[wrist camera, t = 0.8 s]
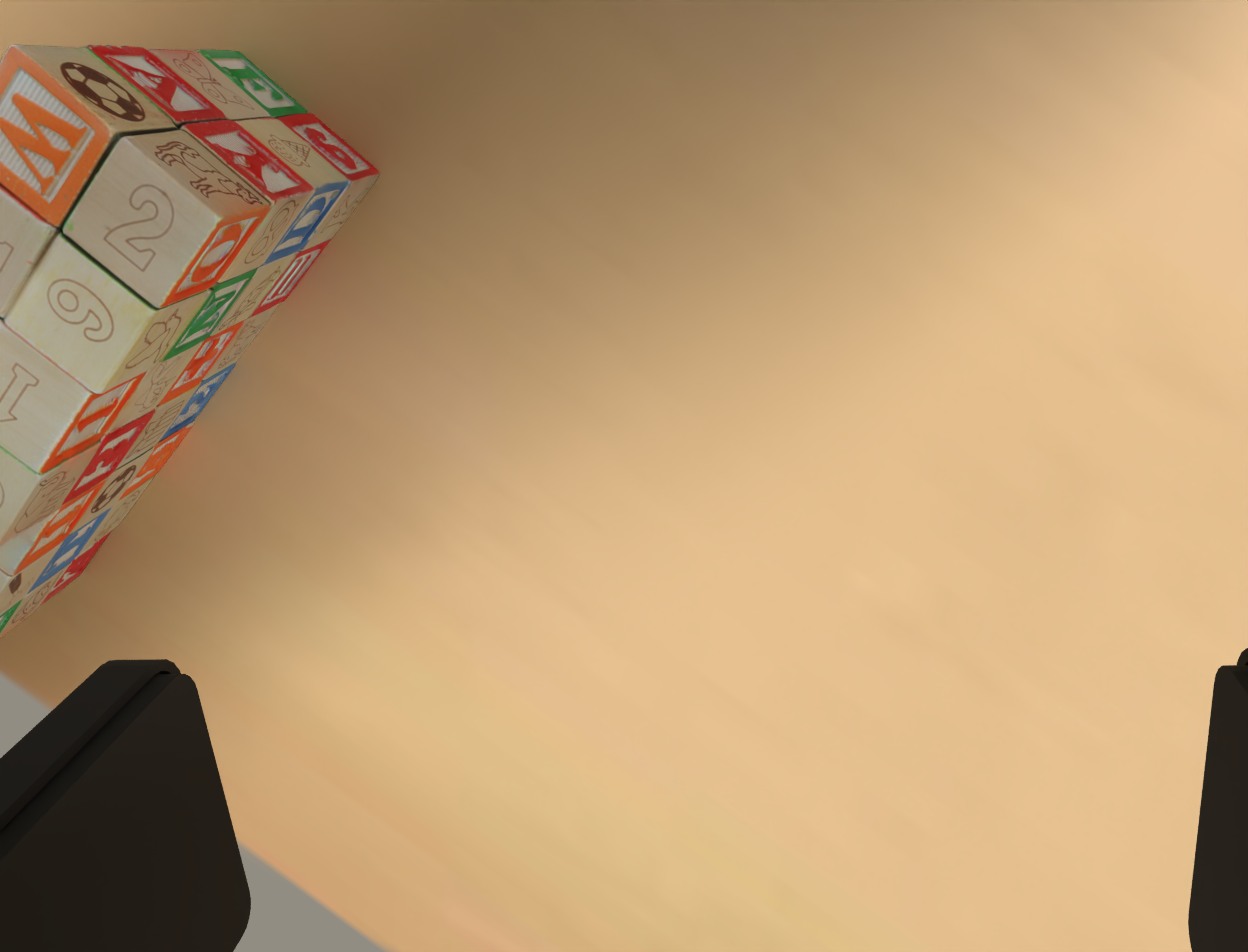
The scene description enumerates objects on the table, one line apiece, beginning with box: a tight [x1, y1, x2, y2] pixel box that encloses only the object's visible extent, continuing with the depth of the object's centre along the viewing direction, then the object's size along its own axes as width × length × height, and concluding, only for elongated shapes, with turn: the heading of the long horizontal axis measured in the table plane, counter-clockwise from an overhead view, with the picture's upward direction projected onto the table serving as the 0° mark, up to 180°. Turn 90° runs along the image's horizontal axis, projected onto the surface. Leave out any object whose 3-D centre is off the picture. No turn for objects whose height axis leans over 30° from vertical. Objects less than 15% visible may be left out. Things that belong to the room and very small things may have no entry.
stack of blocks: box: [0, 45, 380, 638], centre depth 36 cm, size 21×6×12 cm, turn 140°
